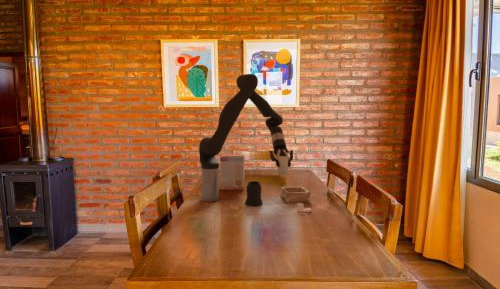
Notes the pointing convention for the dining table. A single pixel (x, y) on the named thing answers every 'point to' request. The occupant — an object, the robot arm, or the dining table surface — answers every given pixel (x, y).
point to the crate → (295, 195)
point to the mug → (253, 194)
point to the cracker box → (232, 172)
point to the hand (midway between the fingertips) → (284, 166)
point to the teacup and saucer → (301, 208)
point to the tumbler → (283, 164)
